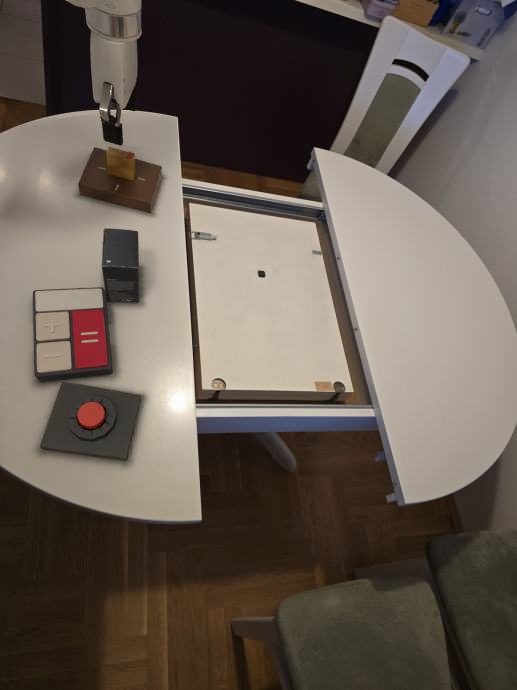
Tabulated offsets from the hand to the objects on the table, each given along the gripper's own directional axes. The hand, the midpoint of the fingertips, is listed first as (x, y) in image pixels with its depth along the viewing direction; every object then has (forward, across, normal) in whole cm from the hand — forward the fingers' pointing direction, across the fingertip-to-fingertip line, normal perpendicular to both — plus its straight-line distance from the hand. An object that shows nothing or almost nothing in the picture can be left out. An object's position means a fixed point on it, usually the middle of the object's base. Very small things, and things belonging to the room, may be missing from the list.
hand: (120, 124), depth 70 cm
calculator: (+14, +37, +1) cm, 39 cm away
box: (+14, +24, +6) cm, 29 cm away
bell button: (+10, +50, +8) cm, 52 cm away
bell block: (+14, +50, +8) cm, 53 cm away
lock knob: (+11, 0, 0) cm, 11 cm away
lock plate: (+14, 0, 0) cm, 14 cm away
